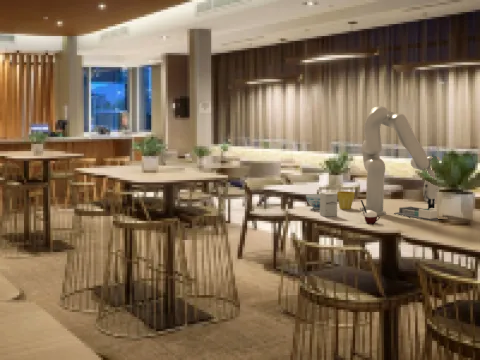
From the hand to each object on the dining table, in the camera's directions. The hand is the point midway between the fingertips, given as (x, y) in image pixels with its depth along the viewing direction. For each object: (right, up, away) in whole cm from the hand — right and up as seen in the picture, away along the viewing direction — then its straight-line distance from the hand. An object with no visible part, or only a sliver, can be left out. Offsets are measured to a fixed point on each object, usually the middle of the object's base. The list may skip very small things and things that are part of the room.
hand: (431, 210), depth 340 cm
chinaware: (-61, 0, +19) cm, 64 cm away
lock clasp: (-6, -2, -17) cm, 18 cm away
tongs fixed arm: (-10, -2, -5) cm, 11 cm away
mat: (-8, -3, -9) cm, 12 cm away
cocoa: (-41, -5, -31) cm, 52 cm away
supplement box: (-59, -3, -7) cm, 59 cm away
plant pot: (-45, 0, +20) cm, 49 cm away
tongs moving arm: (-6, -2, -4) cm, 8 cm away
